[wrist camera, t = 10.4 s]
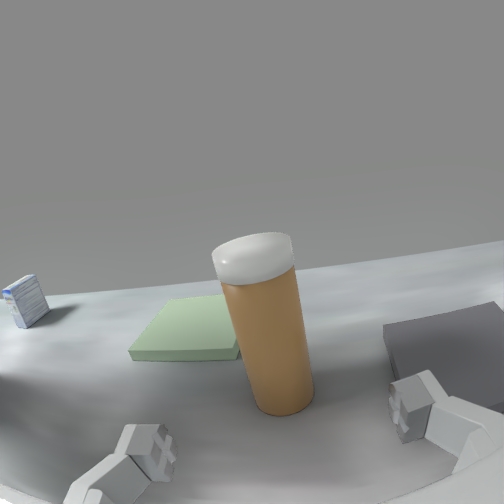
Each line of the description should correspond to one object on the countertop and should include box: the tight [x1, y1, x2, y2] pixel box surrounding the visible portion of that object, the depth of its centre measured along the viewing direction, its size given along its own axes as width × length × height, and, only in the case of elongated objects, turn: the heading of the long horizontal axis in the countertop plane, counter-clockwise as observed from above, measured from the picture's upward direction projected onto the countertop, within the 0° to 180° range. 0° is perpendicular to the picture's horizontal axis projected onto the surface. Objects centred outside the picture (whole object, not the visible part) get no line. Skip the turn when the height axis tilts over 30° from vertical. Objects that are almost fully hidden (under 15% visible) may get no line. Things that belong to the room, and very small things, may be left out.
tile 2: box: [383, 301, 504, 438], centre depth 21 cm, size 13×13×2 cm
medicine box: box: [2, 275, 50, 328], centre depth 51 cm, size 8×4×9 cm, turn 166°
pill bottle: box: [212, 232, 314, 416], centre depth 22 cm, size 5×5×13 cm
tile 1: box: [128, 294, 240, 361], centre depth 38 cm, size 13×13×2 cm
